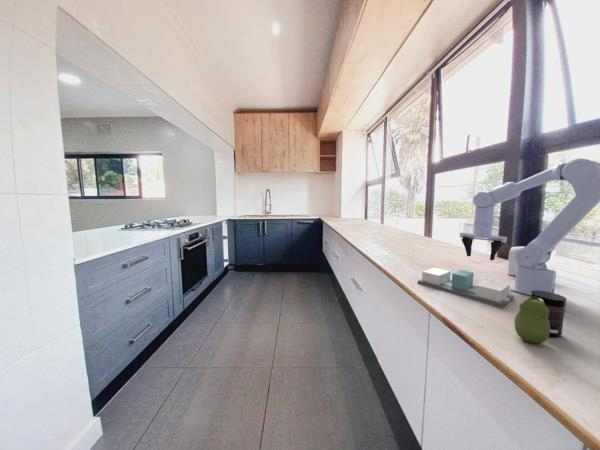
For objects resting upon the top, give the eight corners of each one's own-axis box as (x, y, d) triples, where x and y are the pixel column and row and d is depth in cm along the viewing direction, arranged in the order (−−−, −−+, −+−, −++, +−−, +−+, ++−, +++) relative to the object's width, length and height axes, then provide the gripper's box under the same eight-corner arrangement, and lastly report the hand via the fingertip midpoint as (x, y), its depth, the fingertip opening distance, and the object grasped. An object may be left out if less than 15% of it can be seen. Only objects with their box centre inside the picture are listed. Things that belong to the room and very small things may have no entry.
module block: (472, 286, 82) (473, 272, 82) (464, 291, 78) (465, 276, 78) (459, 283, 86) (460, 269, 85) (451, 287, 81) (452, 273, 81)
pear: (547, 340, 53) (552, 297, 52) (549, 352, 49) (555, 305, 48) (513, 331, 57) (517, 290, 55) (512, 340, 53) (517, 297, 52)
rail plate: (513, 298, 75) (514, 284, 74) (502, 307, 69) (504, 293, 68) (431, 277, 95) (432, 266, 95) (417, 282, 89) (418, 271, 88)
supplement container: (548, 326, 59) (552, 291, 58) (569, 339, 53) (574, 301, 52) (520, 323, 60) (524, 289, 59) (538, 336, 54) (543, 299, 53)
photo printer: (506, 274, 99) (509, 245, 97) (508, 272, 101) (511, 244, 100) (540, 281, 91) (544, 249, 89) (542, 278, 94) (545, 248, 92)
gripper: (457, 222, 95) (455, 255, 96) (504, 226, 83) (500, 263, 85) (464, 221, 99) (462, 253, 100) (509, 224, 87) (506, 260, 89)
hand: (480, 257), depth 93 cm, fingers open, 7 cm apart
